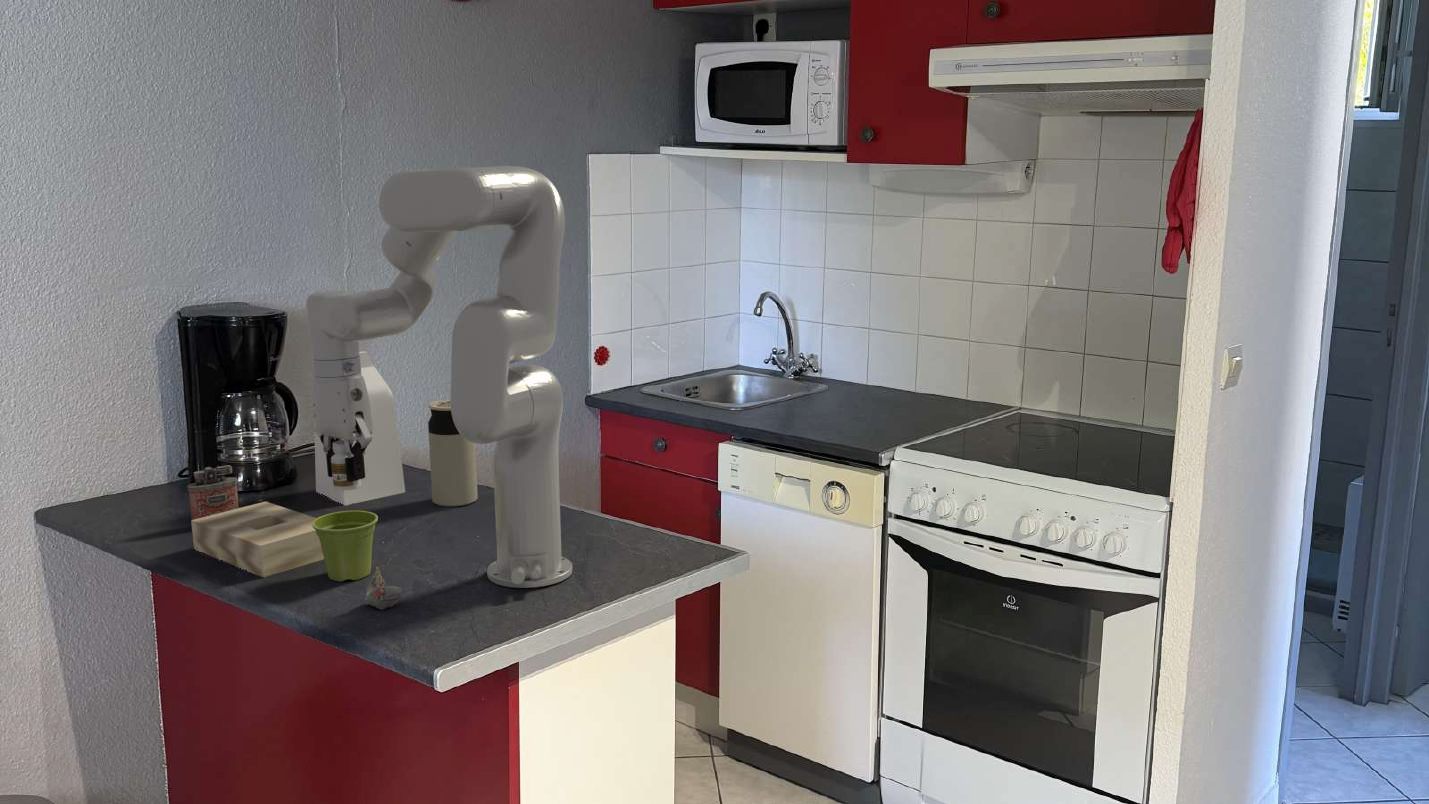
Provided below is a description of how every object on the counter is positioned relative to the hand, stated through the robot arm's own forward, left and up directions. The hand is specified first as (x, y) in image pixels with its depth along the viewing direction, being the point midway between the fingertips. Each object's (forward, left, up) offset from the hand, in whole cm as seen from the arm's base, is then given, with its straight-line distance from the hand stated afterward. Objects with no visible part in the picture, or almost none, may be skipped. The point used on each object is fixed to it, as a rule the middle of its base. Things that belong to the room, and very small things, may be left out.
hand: (346, 476), depth 202 cm
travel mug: (+16, -15, -10) cm, 25 cm away
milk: (+24, +3, -10) cm, 26 cm away
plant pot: (-21, -3, -10) cm, 23 cm away
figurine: (-34, -11, -10) cm, 37 cm away
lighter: (+7, +24, -10) cm, 27 cm away
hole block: (-9, +12, -10) cm, 17 cm away
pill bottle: (0, 0, -2) cm, 2 cm away
